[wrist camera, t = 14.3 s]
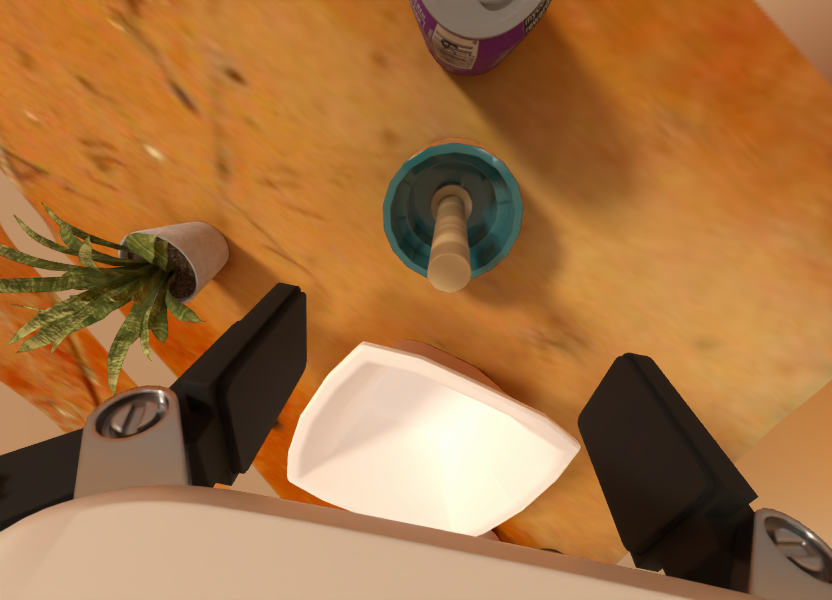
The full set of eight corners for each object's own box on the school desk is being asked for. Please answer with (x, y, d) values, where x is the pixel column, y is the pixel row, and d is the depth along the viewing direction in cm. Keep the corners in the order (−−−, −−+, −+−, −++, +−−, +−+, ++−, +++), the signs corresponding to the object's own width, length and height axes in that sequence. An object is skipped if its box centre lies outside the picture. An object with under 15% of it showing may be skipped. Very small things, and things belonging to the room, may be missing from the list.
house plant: (152, 123, 29) (-138, 134, 15) (292, 219, 32) (163, 303, 18) (122, 245, 35) (-99, 334, 21) (241, 315, 38) (117, 434, 24)
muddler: (435, 178, 28) (420, 232, 16) (476, 187, 28) (495, 247, 16) (427, 219, 30) (408, 297, 17) (466, 227, 30) (475, 311, 17)
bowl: (374, 267, 34) (345, 325, 24) (571, 366, 37) (610, 449, 28) (305, 406, 45) (267, 481, 36) (461, 471, 49) (463, 555, 39)
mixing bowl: (403, 126, 27) (391, 129, 22) (527, 150, 27) (544, 160, 22) (388, 242, 32) (375, 267, 27) (491, 263, 32) (499, 292, 27)
